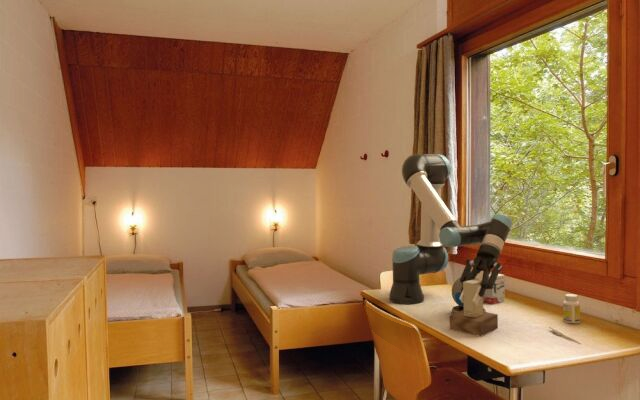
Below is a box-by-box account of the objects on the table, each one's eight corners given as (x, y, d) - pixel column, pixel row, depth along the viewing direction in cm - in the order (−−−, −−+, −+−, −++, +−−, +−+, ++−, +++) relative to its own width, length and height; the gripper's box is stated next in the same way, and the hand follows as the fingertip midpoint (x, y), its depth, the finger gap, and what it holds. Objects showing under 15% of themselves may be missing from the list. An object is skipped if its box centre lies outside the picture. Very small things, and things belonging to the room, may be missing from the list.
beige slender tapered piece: (546, 330, 167) (546, 325, 166) (552, 330, 167) (553, 324, 167) (577, 347, 152) (578, 341, 152) (585, 346, 152) (585, 340, 152)
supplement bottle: (578, 319, 177) (578, 293, 177) (581, 324, 172) (581, 297, 172) (562, 318, 179) (562, 293, 179) (564, 323, 174) (564, 296, 174)
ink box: (492, 304, 201) (492, 276, 201) (482, 302, 206) (482, 274, 205) (505, 301, 206) (505, 274, 206) (495, 299, 210) (495, 272, 210)
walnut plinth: (449, 329, 171) (449, 315, 171) (467, 321, 179) (466, 308, 179) (480, 336, 162) (480, 321, 162) (497, 328, 170) (497, 314, 170)
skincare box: (474, 318, 166) (473, 283, 166) (463, 315, 169) (462, 281, 169) (483, 314, 170) (483, 280, 170) (472, 312, 174) (471, 279, 173)
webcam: (491, 312, 190) (491, 275, 189) (477, 320, 180) (476, 280, 180) (461, 307, 199) (460, 271, 198) (445, 314, 189) (445, 276, 189)
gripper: (516, 257, 174) (495, 312, 163) (472, 253, 186) (450, 303, 176) (509, 245, 170) (487, 299, 159) (465, 241, 182) (442, 292, 172)
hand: (468, 301), depth 167 cm, fingers closed on skincare box, 4 cm apart
